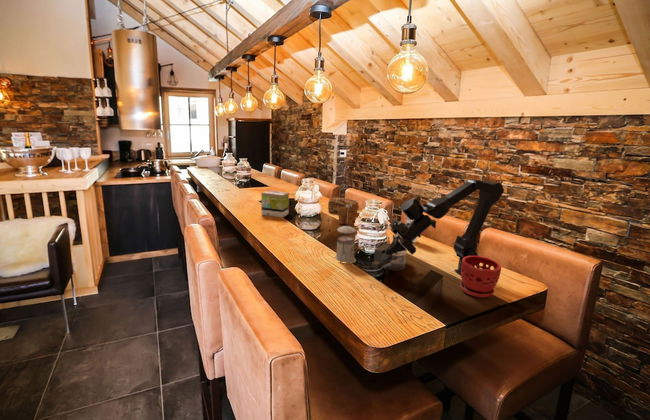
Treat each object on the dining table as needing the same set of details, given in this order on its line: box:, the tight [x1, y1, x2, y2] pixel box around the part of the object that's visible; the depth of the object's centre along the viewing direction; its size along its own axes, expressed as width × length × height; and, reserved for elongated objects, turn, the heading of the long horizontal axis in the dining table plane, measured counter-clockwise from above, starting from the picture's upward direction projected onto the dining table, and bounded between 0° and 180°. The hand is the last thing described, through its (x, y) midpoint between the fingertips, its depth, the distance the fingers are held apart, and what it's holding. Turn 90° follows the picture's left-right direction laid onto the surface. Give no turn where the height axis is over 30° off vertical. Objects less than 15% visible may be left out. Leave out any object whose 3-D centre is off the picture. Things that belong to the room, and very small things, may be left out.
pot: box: [370, 254, 407, 272], centre depth 149 cm, size 23×10×6 cm, turn 139°
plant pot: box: [459, 255, 502, 298], centre depth 129 cm, size 13×13×12 cm
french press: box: [334, 205, 357, 264], centre depth 154 cm, size 10×12×25 cm
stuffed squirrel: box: [337, 202, 361, 227], centre depth 213 cm, size 10×14×13 cm
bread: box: [327, 196, 359, 214], centre depth 241 cm, size 19×11×10 cm, turn 69°
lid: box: [373, 242, 408, 263], centre depth 147 cm, size 23×10×5 cm, turn 144°
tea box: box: [260, 189, 290, 218], centre depth 227 cm, size 15×10×15 cm
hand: (386, 253), depth 139 cm, fingers closed
